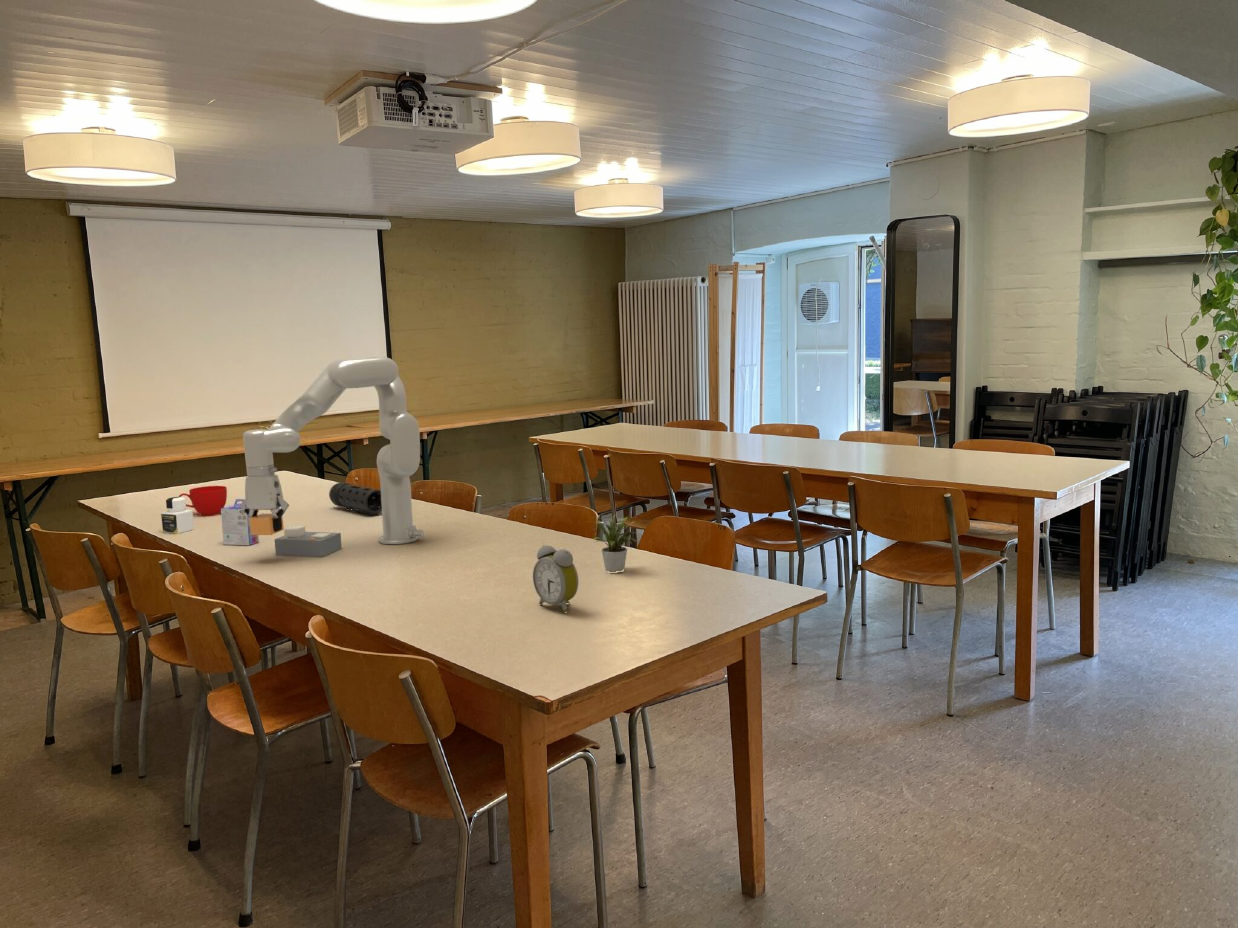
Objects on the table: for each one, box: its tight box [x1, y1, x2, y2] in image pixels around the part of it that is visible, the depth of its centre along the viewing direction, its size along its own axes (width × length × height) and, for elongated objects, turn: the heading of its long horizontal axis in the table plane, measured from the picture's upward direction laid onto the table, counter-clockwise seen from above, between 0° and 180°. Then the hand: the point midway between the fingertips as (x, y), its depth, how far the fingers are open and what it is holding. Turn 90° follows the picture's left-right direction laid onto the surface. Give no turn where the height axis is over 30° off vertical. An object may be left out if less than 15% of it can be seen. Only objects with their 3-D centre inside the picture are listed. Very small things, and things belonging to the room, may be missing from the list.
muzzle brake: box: [328, 481, 382, 517], centre depth 331 cm, size 10×28×10 cm, turn 47°
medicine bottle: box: [160, 496, 195, 535], centre depth 302 cm, size 7×7×12 cm
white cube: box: [283, 525, 306, 538], centre depth 270 cm, size 4×4×4 cm
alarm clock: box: [532, 544, 579, 613], centre depth 208 cm, size 12×7×15 cm, turn 45°
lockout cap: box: [249, 512, 285, 536], centre depth 258 cm, size 7×7×5 cm
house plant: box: [587, 513, 637, 572], centre depth 239 cm, size 14×14×16 cm
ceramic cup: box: [178, 485, 228, 517], centre depth 331 cm, size 13×17×10 cm
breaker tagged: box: [310, 532, 331, 539], centre depth 268 cm, size 4×4×4 cm
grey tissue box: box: [274, 531, 342, 558], centre depth 269 cm, size 16×11×6 cm
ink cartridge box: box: [220, 498, 260, 546], centre depth 281 cm, size 10×6×14 cm, turn 78°
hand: (267, 529), depth 258 cm, fingers closed on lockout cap, 6 cm apart
